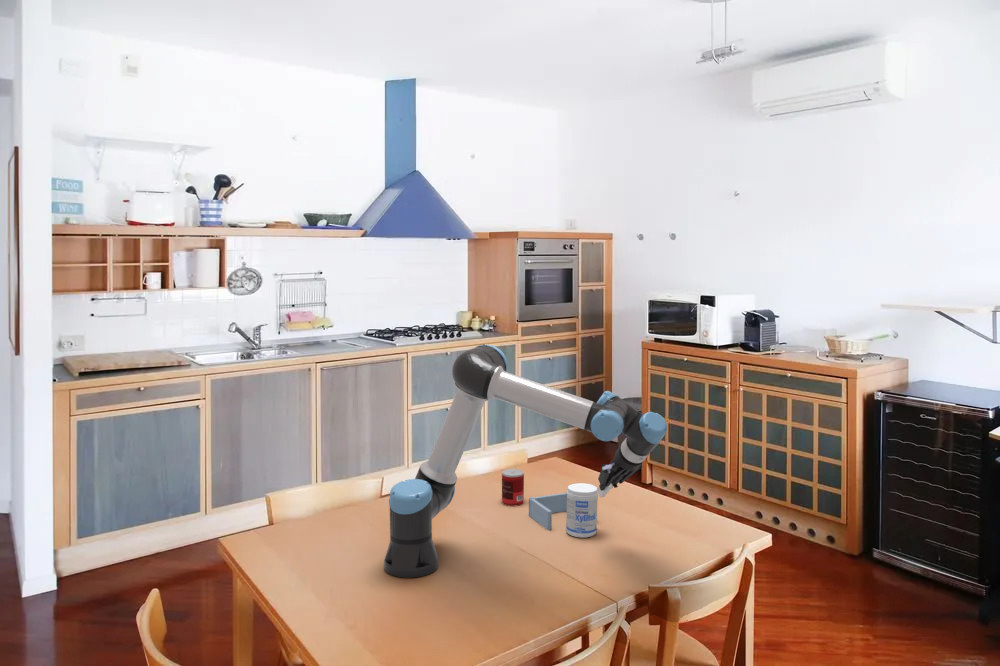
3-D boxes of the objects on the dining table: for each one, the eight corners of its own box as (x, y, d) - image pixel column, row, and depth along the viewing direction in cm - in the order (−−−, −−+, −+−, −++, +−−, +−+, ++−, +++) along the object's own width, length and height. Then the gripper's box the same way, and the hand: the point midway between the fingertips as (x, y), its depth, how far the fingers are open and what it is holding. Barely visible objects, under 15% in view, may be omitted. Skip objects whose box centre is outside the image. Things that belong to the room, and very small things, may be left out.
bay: (595, 522, 243) (596, 504, 243) (548, 530, 237) (548, 511, 236) (574, 508, 256) (574, 491, 256) (528, 515, 249) (528, 498, 249)
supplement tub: (577, 540, 228) (577, 494, 226) (560, 530, 236) (560, 485, 235) (602, 535, 233) (603, 489, 231) (585, 525, 241) (586, 481, 239)
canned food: (524, 499, 266) (524, 469, 264) (522, 506, 258) (523, 475, 257) (503, 498, 266) (503, 468, 265) (500, 505, 259) (500, 475, 257)
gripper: (617, 467, 202) (585, 507, 219) (657, 461, 207) (623, 501, 224) (607, 443, 206) (577, 484, 223) (647, 438, 211) (614, 479, 228)
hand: (600, 493), depth 223 cm, fingers closed
